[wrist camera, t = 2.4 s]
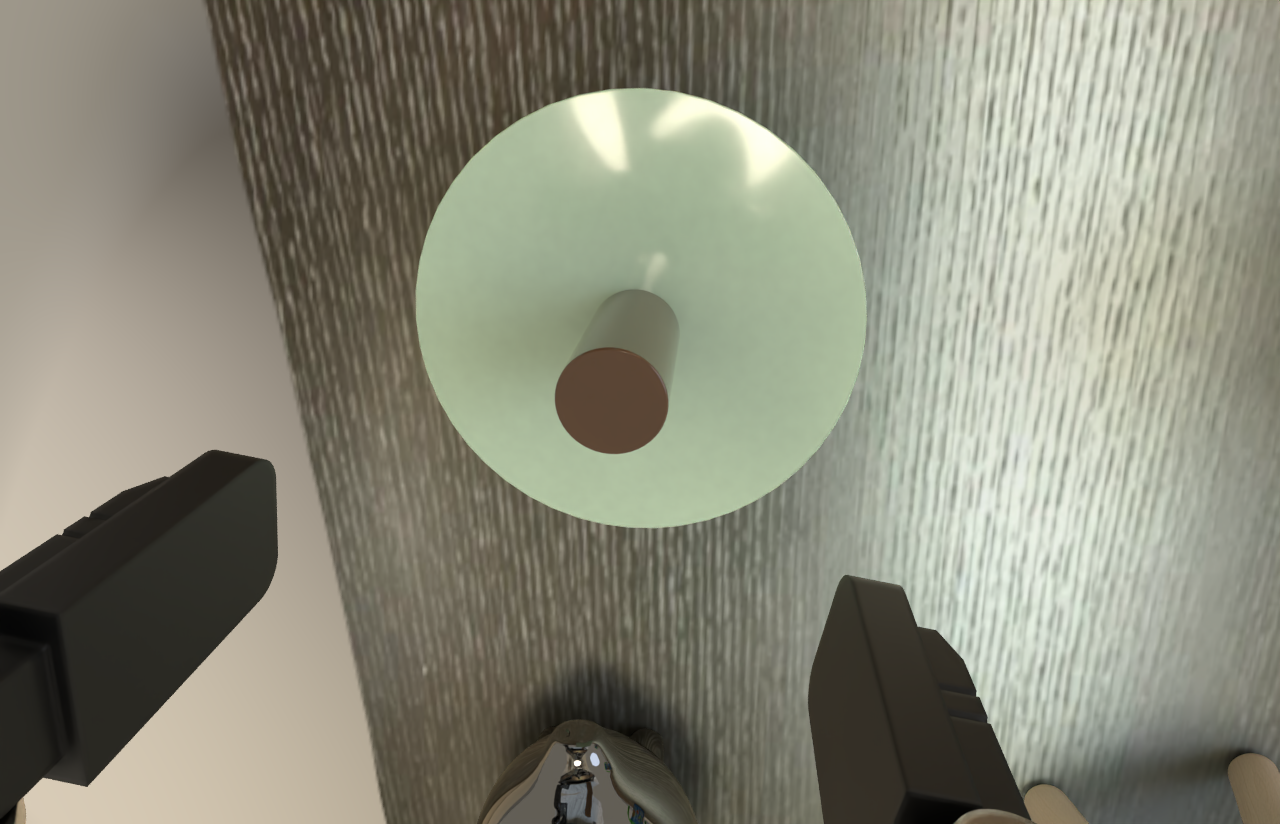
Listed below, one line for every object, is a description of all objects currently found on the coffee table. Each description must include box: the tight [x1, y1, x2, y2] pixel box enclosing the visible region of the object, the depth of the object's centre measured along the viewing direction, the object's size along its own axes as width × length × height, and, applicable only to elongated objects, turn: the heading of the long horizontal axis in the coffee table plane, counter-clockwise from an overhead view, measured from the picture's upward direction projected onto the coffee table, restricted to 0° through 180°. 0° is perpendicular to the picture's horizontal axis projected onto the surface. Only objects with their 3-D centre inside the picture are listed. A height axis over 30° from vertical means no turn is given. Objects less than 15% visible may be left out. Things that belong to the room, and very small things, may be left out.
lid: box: [416, 88, 867, 528], centre depth 22 cm, size 14×14×7 cm
